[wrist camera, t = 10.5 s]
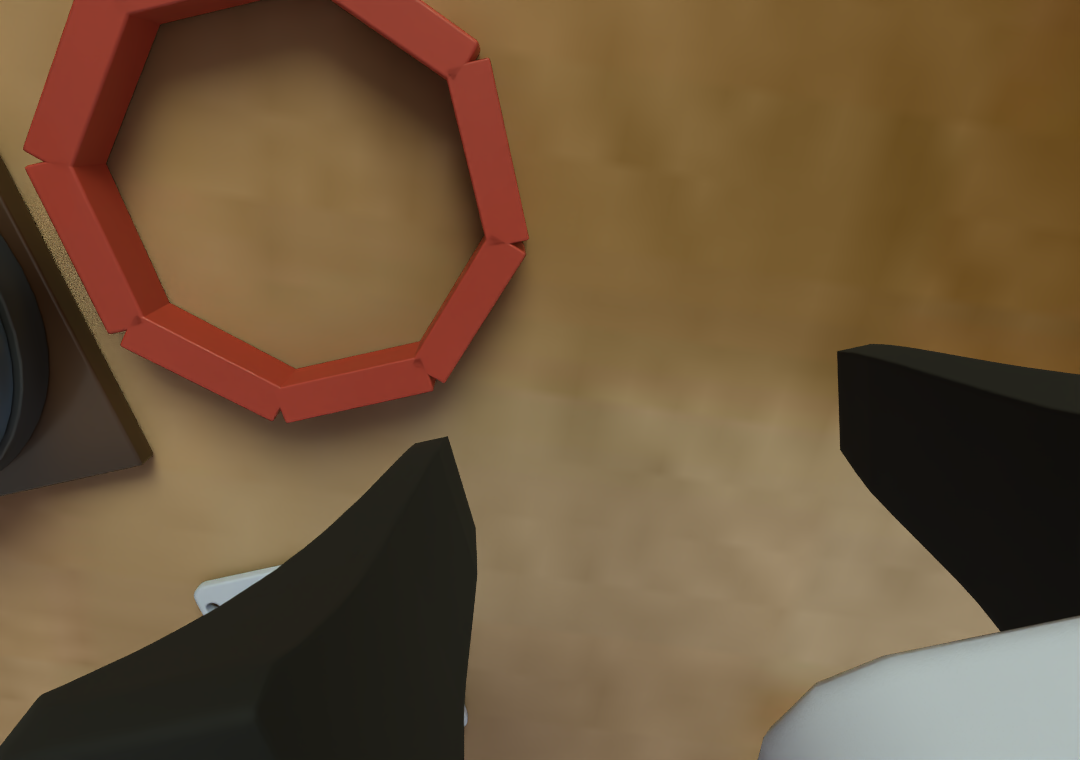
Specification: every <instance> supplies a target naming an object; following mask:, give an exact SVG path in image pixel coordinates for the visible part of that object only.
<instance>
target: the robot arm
mask: <svg viewBox="0 0 1080 760" xmlns="http://www.w3.org/2000/svg"><path fill="white" fill-rule="evenodd" d="M837 360H838V392H839V425H840V450H841V452H842V453H843V455H844V456H845V457H846V459H847V460H848V462H849V463H850V465H851V466H852V468H853V469H854V471H855V472H856V473H857V475H858V476H859V477H860V479H861V480H862V481H863V483H864V484H865V485H866V487H867V488H868V489H869V491H870V492H871V493H872V494H873V495H874V496H875V497H876V498H877V499H878V500H879V501H880V502H881V503H882V505H883V506H884V507H885V508H886V509H887V510H888V511H889V512H890V513H891V514H892V515H893V516H894V517H895V518H896V519H897V520H898V521H899V522H900V523H901V524H902V525H903V526H904V527H905V528H906V529H907V530H908V531H909V532H910V533H911V534H912V535H913V536H914V537H915V538H916V539H917V540H918V541H919V542H920V543H921V544H922V545H923V546H924V547H925V548H926V549H927V550H928V551H929V552H930V553H931V554H932V555H933V556H934V557H935V558H936V559H937V560H938V561H939V562H940V564H941V565H942V566H943V567H944V568H945V569H946V570H947V571H948V572H949V573H950V574H951V575H952V576H953V577H954V578H955V579H956V580H957V581H958V582H959V583H960V584H961V585H962V586H963V587H964V588H965V589H966V591H967V592H968V593H969V594H970V595H971V596H972V597H973V598H974V599H975V600H976V602H977V603H978V604H979V605H980V606H981V608H982V609H983V610H984V611H985V613H986V614H987V615H988V616H989V618H990V619H991V620H992V621H993V623H994V624H995V625H996V626H997V628H998V629H999V630H1000V631H1001V632H997V633H992V634H987V635H982V636H978V637H973V638H968V639H963V640H958V641H953V642H948V643H943V644H939V645H934V646H929V647H924V648H919V649H914V650H909V651H904V652H900V653H895V654H890V655H885V656H882V657H879V658H877V659H874V660H872V661H869V662H867V663H864V664H862V665H859V666H857V667H854V668H852V669H849V670H847V671H844V672H842V673H840V674H837V675H835V676H832V677H830V678H827V679H825V680H822V681H820V682H817V683H816V684H815V685H814V686H813V687H812V688H811V689H809V690H808V691H807V692H806V693H805V694H804V695H803V696H802V697H801V698H800V699H799V700H798V701H797V702H796V703H795V704H794V705H793V706H792V707H791V708H790V709H789V710H788V711H787V712H786V713H785V714H784V715H783V716H782V717H781V718H780V719H779V720H778V721H777V722H776V723H775V724H774V725H772V726H771V728H770V729H769V731H768V732H767V733H766V735H765V736H764V738H763V742H762V746H761V750H760V753H759V757H758V760H1080V375H1079V374H1070V373H1063V372H1056V371H1049V370H1042V369H1034V368H1027V367H1021V366H1014V365H1008V364H1002V363H996V362H990V361H984V360H978V359H973V358H967V357H961V356H956V355H950V354H945V353H939V352H933V351H927V350H922V349H916V348H909V347H902V346H894V345H884V344H869V345H865V346H860V347H855V348H851V349H846V350H842V351H837ZM476 582H477V550H476V528H475V525H474V521H473V518H472V515H471V511H470V508H469V505H468V502H467V498H466V495H465V492H464V488H463V485H462V482H461V478H460V475H459V472H458V469H457V465H456V462H455V459H454V455H453V452H452V449H451V446H450V442H449V439H448V436H447V437H443V438H438V439H433V440H429V441H424V442H420V443H415V444H414V445H413V446H412V447H410V448H409V449H408V450H407V451H406V452H405V453H404V454H403V455H402V456H401V457H400V458H399V459H398V460H397V461H396V462H395V463H394V464H393V465H392V466H391V467H390V468H389V469H388V470H387V471H386V472H385V473H384V474H383V475H382V476H381V477H380V479H379V480H378V481H377V482H376V483H375V484H374V485H373V486H372V487H371V488H370V489H369V490H368V491H367V492H366V493H365V494H364V495H363V496H362V497H361V498H360V499H359V500H358V501H357V502H356V503H354V504H353V505H352V506H351V507H350V508H349V509H348V510H347V511H346V512H345V513H344V514H343V515H342V516H340V517H339V518H338V519H337V520H336V521H335V522H334V523H333V524H332V525H331V526H330V527H329V528H328V529H326V530H325V531H324V532H323V533H322V534H321V535H319V536H318V537H317V538H316V539H315V540H313V541H312V542H311V543H310V544H308V545H307V546H306V547H305V548H303V549H302V550H301V551H300V552H298V553H297V554H296V555H294V556H293V557H292V558H290V559H289V560H288V561H286V562H285V563H284V564H282V565H279V566H274V567H269V568H265V569H260V570H255V571H251V572H246V573H241V574H237V575H232V576H227V577H223V578H218V579H213V580H209V581H205V582H203V583H201V584H200V585H199V586H198V588H197V589H196V591H195V593H194V598H195V601H196V603H197V605H198V606H199V608H200V610H201V612H202V614H203V616H202V617H200V618H198V619H196V620H195V621H193V622H191V623H189V624H188V625H186V626H184V627H182V628H180V629H178V630H177V631H175V632H173V633H171V634H169V635H167V636H165V637H163V638H161V639H160V640H158V641H156V642H154V643H152V644H150V645H148V646H146V647H144V648H142V649H140V650H138V651H136V652H134V653H132V654H130V655H128V656H126V657H124V658H121V659H119V660H117V661H115V662H113V663H111V664H108V665H106V666H104V667H102V668H100V669H98V670H95V671H93V672H91V673H89V674H87V675H85V676H82V677H80V678H78V679H76V680H74V681H72V682H69V683H67V684H65V685H63V686H61V687H58V688H56V689H54V690H51V691H49V692H47V693H44V694H42V695H41V696H40V697H39V698H38V699H37V700H36V701H35V702H34V704H33V705H32V706H31V708H30V709H29V710H28V711H27V713H26V714H25V715H24V716H23V718H22V719H21V720H20V722H19V723H18V724H17V725H16V727H15V728H14V729H13V730H12V732H11V733H10V734H9V736H8V737H7V738H6V739H5V741H4V742H3V743H2V744H1V746H0V760H464V726H466V724H467V720H468V713H467V710H466V707H465V688H466V677H467V668H468V658H469V649H470V640H471V630H472V621H473V612H474V602H475V592H476ZM212 603H215V604H218V605H219V607H217V606H214V605H213V604H212Z"/></svg>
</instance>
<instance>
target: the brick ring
mask: <svg viewBox="0 0 1080 760" xmlns="http://www.w3.org/2000/svg"><path fill="white" fill-rule="evenodd" d="M256 1H260V0H74V1H73V4H72V7H71V10H70V13H69V16H68V19H67V22H66V25H65V27H64V30H63V33H62V36H61V39H60V42H59V45H58V48H57V51H56V54H55V57H54V59H53V62H52V65H51V68H50V71H49V74H48V77H47V80H46V83H45V86H44V89H43V92H42V94H41V97H40V100H39V103H38V106H37V109H36V112H35V115H34V118H33V121H32V124H31V126H30V129H29V132H28V135H27V138H26V141H25V144H24V147H23V150H24V151H26V152H27V153H29V154H31V155H33V156H35V157H36V158H38V159H40V160H42V161H44V162H41V163H36V164H32V165H28V166H26V167H25V170H26V172H27V174H28V176H29V178H30V180H31V182H32V184H33V186H34V188H35V190H36V191H37V193H38V195H39V197H40V199H41V201H42V203H43V205H44V207H45V209H46V211H47V213H48V215H49V217H50V219H51V221H52V223H53V225H54V227H55V229H56V231H57V233H58V235H59V237H60V239H61V241H62V243H63V245H64V247H65V249H66V251H67V253H68V255H69V257H70V259H71V261H72V263H73V265H74V267H75V269H76V271H77V273H78V275H79V277H80V279H81V281H82V283H83V285H84V287H85V289H86V291H87V293H88V295H89V297H90V299H91V301H92V303H93V304H94V306H95V308H96V310H97V312H98V314H99V316H100V318H101V320H102V322H103V324H104V326H105V328H106V330H107V332H108V333H109V334H113V333H118V332H122V331H126V333H125V335H124V337H123V339H122V342H121V344H120V346H121V347H123V348H125V349H127V350H129V351H131V352H133V353H135V354H137V355H139V356H141V357H143V358H146V359H148V360H150V361H152V362H154V363H156V364H158V365H160V366H162V367H164V368H166V369H168V370H170V371H172V372H174V373H176V374H178V375H180V376H182V377H184V378H186V379H188V380H190V381H192V382H194V383H196V384H198V385H200V386H202V387H204V388H206V389H208V390H210V391H212V392H214V393H216V394H218V395H220V396H222V397H224V398H226V399H228V400H230V401H232V402H234V403H236V404H238V405H240V406H242V407H244V408H246V409H248V410H250V411H252V412H254V413H256V414H258V415H260V416H262V417H264V418H266V419H268V420H270V421H273V420H274V419H275V418H276V416H277V415H278V414H279V412H280V411H281V412H282V414H283V417H284V419H285V421H286V423H290V422H295V421H299V420H304V419H308V418H313V417H317V416H322V415H326V414H331V413H335V412H340V411H344V410H349V409H354V408H358V407H363V406H367V405H372V404H376V403H381V402H385V401H390V400H394V399H399V398H403V397H408V396H412V395H417V394H422V393H426V392H431V391H433V389H434V385H435V381H436V379H437V380H439V381H441V382H442V383H445V382H446V380H447V379H448V377H449V376H450V374H451V372H452V371H453V369H454V368H455V366H456V365H457V363H458V361H459V360H460V358H461V357H462V355H463V354H464V352H465V350H466V349H467V347H468V346H469V344H470V343H471V341H472V339H473V338H474V336H475V335H476V333H477V331H478V330H479V328H480V327H481V325H482V324H483V322H484V320H485V319H486V317H487V316H488V314H489V313H490V311H491V309H492V308H493V306H494V305H495V303H496V301H497V300H498V298H499V297H500V295H501V294H502V292H503V290H504V289H505V287H506V286H507V284H508V283H509V281H510V279H511V278H512V276H513V275H514V273H515V272H516V270H517V268H518V267H519V265H520V264H521V262H522V260H523V259H524V257H525V256H526V252H525V247H524V244H523V243H522V242H521V241H526V240H528V239H529V236H528V232H527V227H526V222H525V218H524V213H523V209H522V204H521V199H520V195H519V190H518V186H517V181H516V176H515V172H514V167H513V163H512V158H511V154H510V149H509V144H508V140H507V135H506V131H505V126H504V121H503V117H502V112H501V108H500V103H499V98H498V94H497V89H496V85H495V80H494V75H493V71H492V66H491V62H490V59H489V58H484V59H480V60H476V58H477V57H478V55H479V53H480V47H479V43H478V41H477V40H476V39H474V38H473V37H471V36H470V35H469V34H467V33H466V32H465V31H463V30H462V29H460V28H459V27H458V26H456V25H455V24H453V23H452V22H451V21H449V20H448V19H446V18H445V17H444V16H442V15H441V14H440V13H438V12H437V11H435V10H434V9H433V8H431V7H430V6H428V5H427V4H426V3H424V2H423V1H421V0H331V1H332V2H334V3H335V4H337V5H338V6H339V7H341V8H342V9H344V10H345V11H347V12H348V13H350V14H351V15H352V16H354V17H355V18H357V19H358V20H360V21H361V22H363V23H364V24H365V25H367V26H368V27H370V28H371V29H373V30H374V31H376V32H377V33H378V34H380V35H381V36H383V37H384V38H386V39H387V40H389V41H390V42H392V43H393V44H394V45H396V46H397V47H399V48H400V49H402V50H403V51H405V52H406V53H407V54H409V55H410V56H412V57H413V58H415V59H416V60H418V61H419V62H420V63H422V64H423V65H425V66H426V67H428V68H429V69H431V70H432V71H433V72H435V73H436V74H438V75H439V76H441V77H442V78H444V79H445V80H446V81H447V84H448V88H449V92H450V96H451V100H452V104H453V108H454V112H455V117H456V121H457V125H458V129H459V133H460V137H461V141H462V145H463V149H464V153H465V157H466V161H467V166H468V170H469V174H470V178H471V182H472V186H473V190H474V194H475V198H476V202H477V206H478V211H479V215H480V219H481V223H482V227H483V231H484V236H483V238H482V240H481V241H480V243H479V245H478V246H477V248H476V250H475V251H474V253H473V254H472V256H471V258H470V259H469V261H468V263H467V264H466V266H465V268H464V269H463V271H462V273H461V274H460V276H459V278H458V279H457V281H456V283H455V284H454V286H453V288H452V289H451V291H450V293H449V294H448V296H447V297H446V299H445V301H444V302H443V304H442V306H441V307H440V309H439V311H438V312H437V314H436V316H435V317H434V319H433V321H432V322H431V324H430V326H429V327H428V329H427V331H426V332H425V334H424V335H423V337H422V339H421V340H420V341H419V342H415V343H411V344H406V345H402V346H397V347H393V348H388V349H384V350H379V351H375V352H370V353H366V354H361V355H357V356H352V357H348V358H343V359H339V360H334V361H330V362H325V363H321V364H316V365H312V366H307V367H303V368H298V369H295V368H293V367H291V366H289V365H287V364H285V363H283V362H281V361H280V360H278V359H276V358H274V357H272V356H270V355H268V354H266V353H264V352H262V351H260V350H259V349H257V348H255V347H253V346H251V345H249V344H247V343H245V342H243V341H241V340H239V339H238V338H236V337H234V336H232V335H230V334H228V333H226V332H224V331H222V330H220V329H218V328H217V327H215V326H213V325H211V324H209V323H207V322H205V321H203V320H201V319H199V318H198V317H196V316H194V315H192V314H190V313H188V312H186V311H184V310H182V309H180V308H178V307H177V306H175V305H173V304H171V303H169V301H168V299H167V296H166V294H165V292H164V290H163V288H162V285H161V283H160V281H159V279H158V277H157V274H156V272H155V270H154V268H153V266H152V263H151V261H150V259H149V257H148V255H147V252H146V250H145V248H144V246H143V244H142V241H141V239H140V237H139V235H138V233H137V230H136V228H135V226H134V224H133V222H132V219H131V217H130V215H129V213H128V211H127V208H126V206H125V204H124V202H123V200H122V198H121V195H120V193H119V191H118V189H117V187H116V184H115V182H114V180H113V178H112V176H111V173H110V171H109V169H108V167H107V165H106V162H107V160H108V157H109V154H110V152H111V149H112V147H113V144H114V142H115V139H116V136H117V134H118V131H119V129H120V126H121V124H122V121H123V118H124V116H125V113H126V111H127V108H128V106H129V103H130V100H131V98H132V95H133V93H134V90H135V88H136V85H137V82H138V80H139V77H140V75H141V72H142V70H143V67H144V64H145V62H146V59H147V57H148V54H149V52H150V49H151V46H152V44H153V41H154V39H155V36H156V34H157V31H158V28H159V26H160V24H163V23H168V22H172V21H176V20H180V19H184V18H189V17H193V16H197V15H201V14H205V13H209V12H214V11H218V10H222V9H226V8H230V7H235V6H239V5H243V4H247V3H251V2H256ZM475 60H476V61H475Z"/></svg>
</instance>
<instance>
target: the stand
mask: <svg viewBox="0 0 1080 760" xmlns="http://www.w3.org/2000/svg"><path fill="white" fill-rule="evenodd" d="M152 455H153V452H152V450H151V448H150V446H149V444H148V443H147V441H146V439H145V437H144V435H143V433H142V431H141V429H140V427H139V425H138V423H137V421H136V419H135V417H134V415H133V413H132V411H131V409H130V408H129V406H128V404H127V402H126V400H125V398H124V396H123V394H122V392H121V390H120V388H119V386H118V384H117V382H116V380H115V378H114V376H113V374H112V373H111V371H110V369H109V367H108V365H107V363H106V361H105V359H104V357H103V355H102V353H101V351H100V349H99V347H98V345H97V343H96V341H95V340H94V338H93V336H92V334H91V332H90V330H89V328H88V326H87V324H86V322H85V320H84V318H83V316H82V314H81V312H80V310H79V308H78V306H77V305H76V303H75V301H74V299H73V297H72V295H71V293H70V291H69V289H68V287H67V285H66V283H65V281H64V279H63V277H62V275H61V273H60V272H59V270H58V268H57V266H56V264H55V262H54V260H53V258H52V256H51V254H50V252H49V250H48V248H47V246H46V244H45V242H44V240H43V238H42V237H41V235H40V233H39V231H38V229H37V227H36V225H35V223H34V221H33V219H32V217H31V215H30V213H29V211H28V209H27V207H26V205H25V203H24V202H23V200H22V198H21V196H20V194H19V192H18V190H17V188H16V186H15V184H14V182H13V180H12V178H11V176H10V174H9V172H8V170H7V169H6V167H5V165H4V163H3V161H2V159H1V157H0V496H4V495H8V494H13V493H17V492H22V491H26V490H31V489H35V488H40V487H45V486H49V485H54V484H58V483H63V482H67V481H72V480H76V479H81V478H86V477H90V476H95V475H99V474H104V473H108V472H113V471H117V470H122V469H127V468H131V467H136V466H140V465H142V464H144V463H145V462H146V461H147V460H148V459H149V458H150V457H151V456H152Z"/></svg>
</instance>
